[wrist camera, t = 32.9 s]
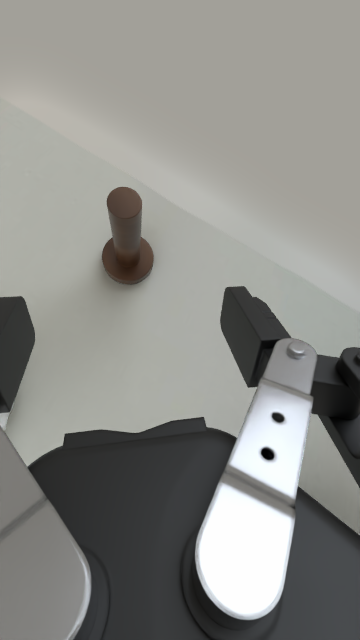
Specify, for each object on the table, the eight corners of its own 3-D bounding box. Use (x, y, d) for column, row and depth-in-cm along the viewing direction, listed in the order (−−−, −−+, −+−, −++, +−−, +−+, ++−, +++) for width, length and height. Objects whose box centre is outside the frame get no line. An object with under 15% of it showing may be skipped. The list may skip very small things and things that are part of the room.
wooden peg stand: (126, 228, 29) (121, 153, 19) (162, 259, 29) (177, 202, 19) (93, 262, 28) (68, 202, 18) (130, 294, 28) (127, 253, 18)
